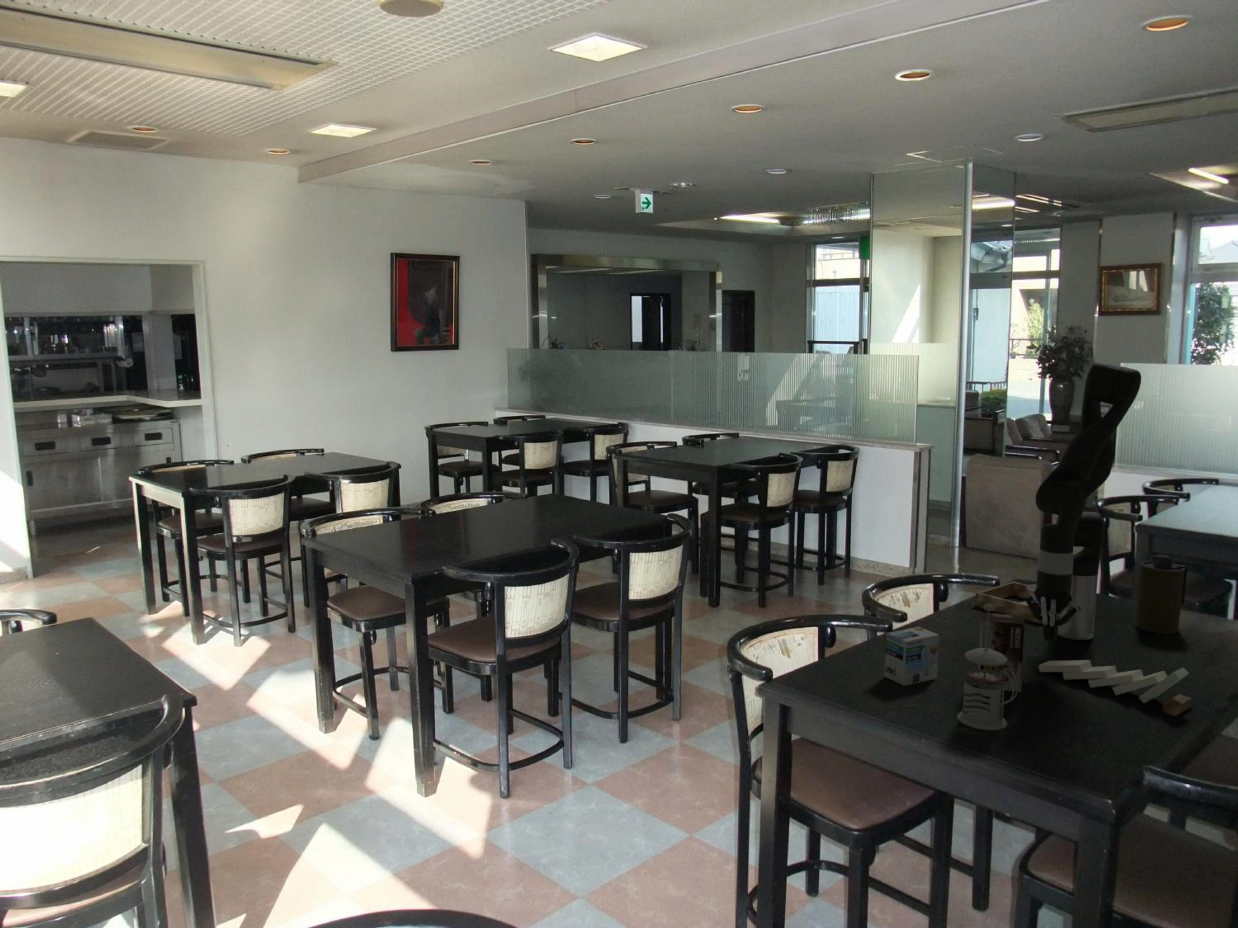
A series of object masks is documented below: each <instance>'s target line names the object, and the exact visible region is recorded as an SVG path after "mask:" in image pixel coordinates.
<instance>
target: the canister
mask: <svg viewBox="0 0 1238 928" xmlns="http://www.w3.org/2000/svg"><path fill="white" fill-rule="evenodd" d="M1151 557H1152V558H1153V560H1145V561H1142V562H1140V564H1139V565H1140V566H1141V567H1140V577H1139V588H1138V589H1139V590H1138V600H1137V611H1136V620H1135V621H1136V622H1135V623H1134V625H1135V626H1136V627H1137V628H1138V629H1140V630H1143V631H1145V630H1146V632H1149V631H1150V632H1149V633H1153V632H1155V633H1154V634H1160V633H1163V634H1162V635H1173V633H1174V634H1178V633H1179V632H1180V619H1181V617H1180V616H1181V609H1182V608H1181V607H1185V595H1186V587H1187V576H1188V575H1187V573H1188V567H1187V566H1186V565H1185V564H1177V563H1173V561H1172V559H1173V558H1172V557H1170V556H1169V555H1167V554H1160V555H1159V554H1154V555H1151ZM1178 631H1179V632H1178ZM1177 632H1178V633H1177Z"/></svg>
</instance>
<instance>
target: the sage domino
mask: <svg viewBox="0 0 1238 928" xmlns="http://www.w3.org/2000/svg"><path fill="white" fill-rule="evenodd" d="M1189 674H1190V673H1189V671H1187V669H1186V668H1185V667H1181V668H1179V669H1177V670H1175V671H1172V673H1170V674H1169V675H1167V677H1166V678H1165V679H1163V680H1162V681H1160V682H1159V683H1156V684H1154V686H1151V688H1149V689H1148V690H1146V691H1145V692H1144V693H1142V694H1141V695H1140V696H1138V699H1139V700H1140V701H1141V702H1142V703H1143V704H1147V703H1148V702H1150V701H1151V700H1154V699H1155V698H1157V697H1158V696H1160V695H1161V694H1162V693H1164V692H1166V691H1167V690H1168V689H1169V688H1171V687H1172V686H1173V685H1175V684H1178V682H1179V681H1181V680H1182V679H1184V678H1185V677H1186V676H1188V675H1189Z"/></svg>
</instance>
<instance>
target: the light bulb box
mask: <svg viewBox="0 0 1238 928" xmlns="http://www.w3.org/2000/svg"><path fill="white" fill-rule="evenodd" d="M885 639H886V640H885V645H886V646H885V657H884V659H885V662H884V677H885V678H887V679H889V680H891V681H893V682H896V683H898V684H899V685H902V686H909V685H913V684H919V683H923V682H928V681H934V680H937V679H938V665H939V646H940V634H938V633H936V632H933V631H930V630H927V629H925V628H923V627H920V626H916V627H911V628H907V629H901V630H895V631H891V632H890V631H889V632H886V638H885Z"/></svg>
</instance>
